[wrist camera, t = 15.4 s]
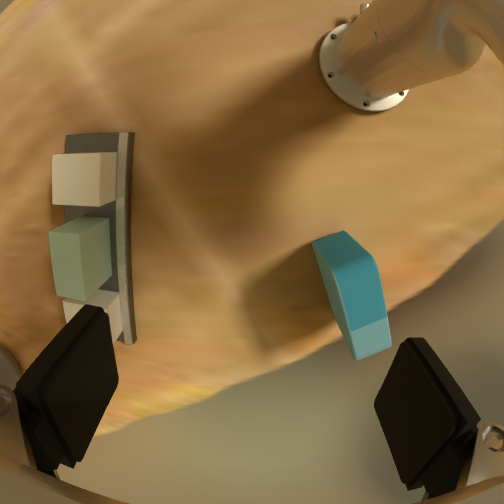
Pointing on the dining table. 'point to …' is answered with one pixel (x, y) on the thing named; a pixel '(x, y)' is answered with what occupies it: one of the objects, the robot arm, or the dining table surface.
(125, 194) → the rail plate
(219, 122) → the dining table surface
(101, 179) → the mounted modules
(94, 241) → the module block
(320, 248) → the data package
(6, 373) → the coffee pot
